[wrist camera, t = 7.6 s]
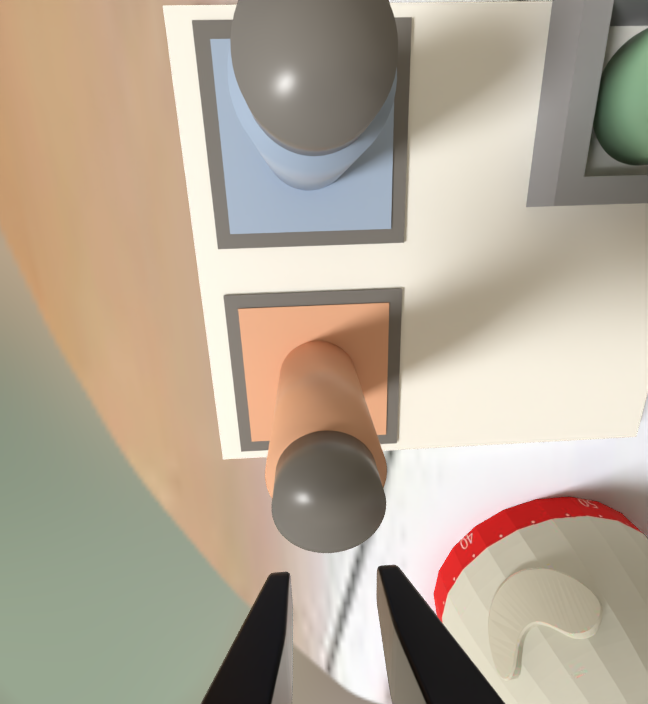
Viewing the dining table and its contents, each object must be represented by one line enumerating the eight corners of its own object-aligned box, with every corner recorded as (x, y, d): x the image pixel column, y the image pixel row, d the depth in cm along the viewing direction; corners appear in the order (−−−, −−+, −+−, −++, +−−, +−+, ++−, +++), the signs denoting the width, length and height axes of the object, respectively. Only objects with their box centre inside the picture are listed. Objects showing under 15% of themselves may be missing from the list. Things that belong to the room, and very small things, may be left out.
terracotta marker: (354, 339, 18) (400, 444, 10) (355, 408, 19) (395, 557, 11) (277, 342, 18) (254, 452, 10) (282, 412, 19) (265, 565, 11)
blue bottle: (353, 87, 15) (420, -78, 7) (352, 189, 16) (409, 162, 8) (258, 88, 15) (200, -81, 6) (265, 191, 16) (224, 164, 8)
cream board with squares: (725, 5, 16) (818, -41, 13) (621, 427, 22) (669, 458, 19) (170, 12, 15) (139, -36, 12) (226, 448, 21) (214, 484, 18)
